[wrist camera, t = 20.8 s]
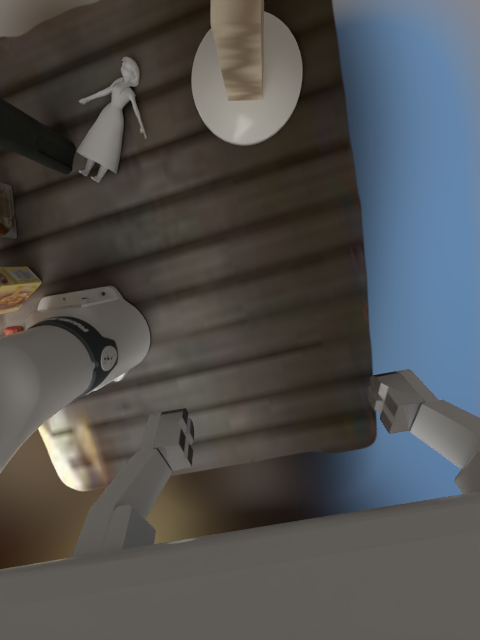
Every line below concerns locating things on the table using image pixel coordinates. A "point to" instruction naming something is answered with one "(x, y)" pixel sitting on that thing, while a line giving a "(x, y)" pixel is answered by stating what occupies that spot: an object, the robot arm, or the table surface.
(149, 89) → the table surface
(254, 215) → the table surface
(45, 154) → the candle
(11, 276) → the candy box
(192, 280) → the table surface
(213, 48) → the plate
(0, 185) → the coffee box
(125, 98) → the woman figurine
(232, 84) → the maple block
